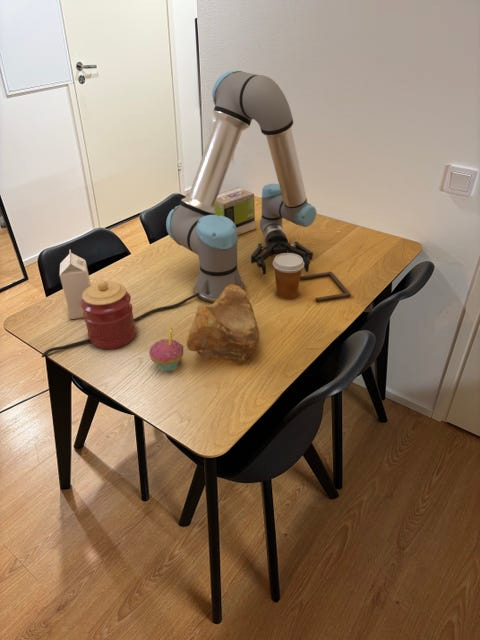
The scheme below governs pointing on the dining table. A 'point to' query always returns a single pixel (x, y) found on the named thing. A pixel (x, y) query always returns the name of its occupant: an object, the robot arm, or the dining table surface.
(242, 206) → the tea box
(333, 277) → the walnut frame
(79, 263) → the milk carton
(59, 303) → the dining table surface
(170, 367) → the cupcake
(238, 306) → the rough brown rock
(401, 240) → the dining table surface
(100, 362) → the dining table surface
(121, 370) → the dining table surface
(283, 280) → the disposable coffee cup
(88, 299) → the kitchen canister
